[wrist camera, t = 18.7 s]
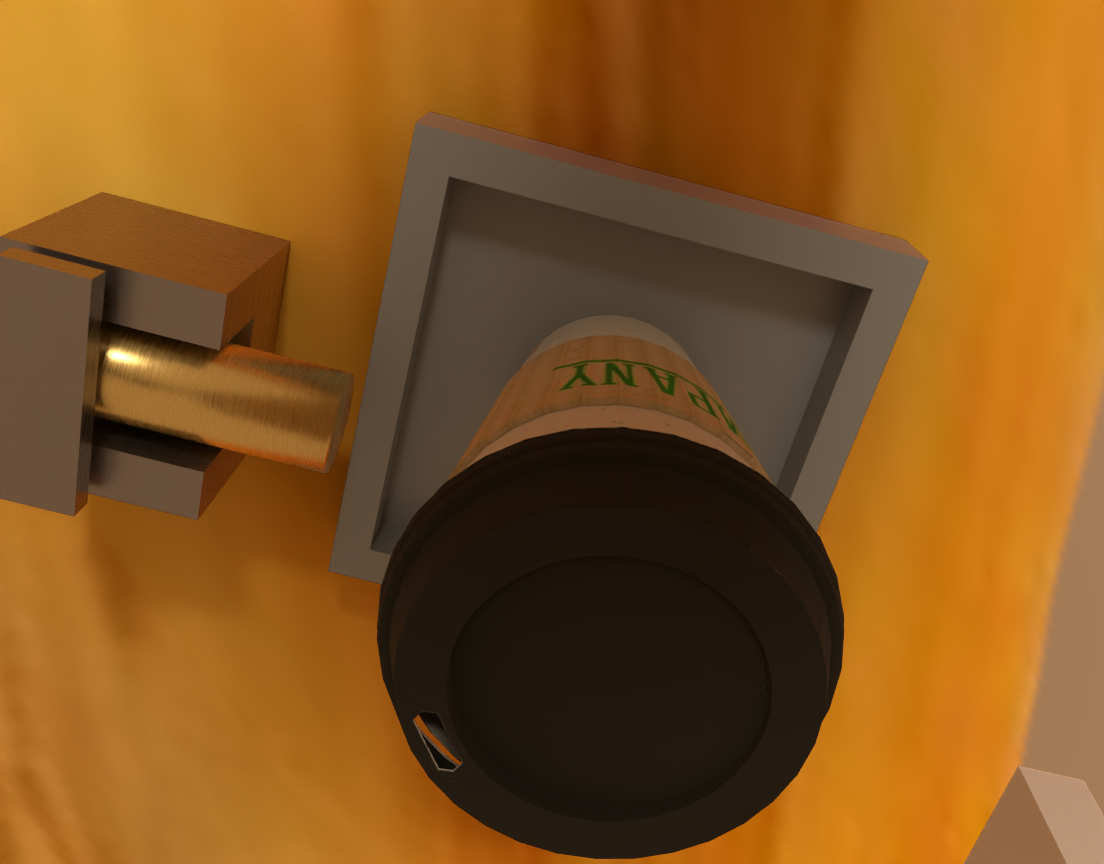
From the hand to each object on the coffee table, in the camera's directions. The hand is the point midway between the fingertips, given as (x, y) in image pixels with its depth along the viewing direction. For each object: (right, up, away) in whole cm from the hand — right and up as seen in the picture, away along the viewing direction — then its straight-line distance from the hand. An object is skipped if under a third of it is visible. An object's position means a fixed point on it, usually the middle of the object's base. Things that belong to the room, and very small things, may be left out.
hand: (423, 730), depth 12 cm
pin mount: (-11, +7, +23) cm, 26 cm away
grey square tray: (+3, +5, +23) cm, 24 cm away
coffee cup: (+3, +4, +23) cm, 23 cm away
